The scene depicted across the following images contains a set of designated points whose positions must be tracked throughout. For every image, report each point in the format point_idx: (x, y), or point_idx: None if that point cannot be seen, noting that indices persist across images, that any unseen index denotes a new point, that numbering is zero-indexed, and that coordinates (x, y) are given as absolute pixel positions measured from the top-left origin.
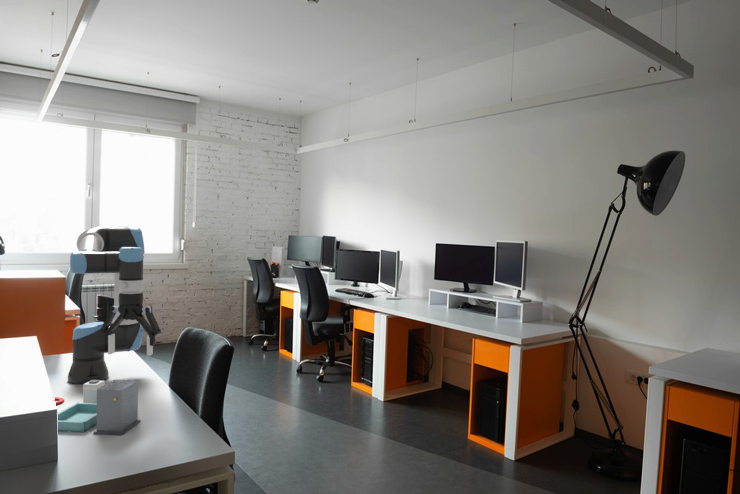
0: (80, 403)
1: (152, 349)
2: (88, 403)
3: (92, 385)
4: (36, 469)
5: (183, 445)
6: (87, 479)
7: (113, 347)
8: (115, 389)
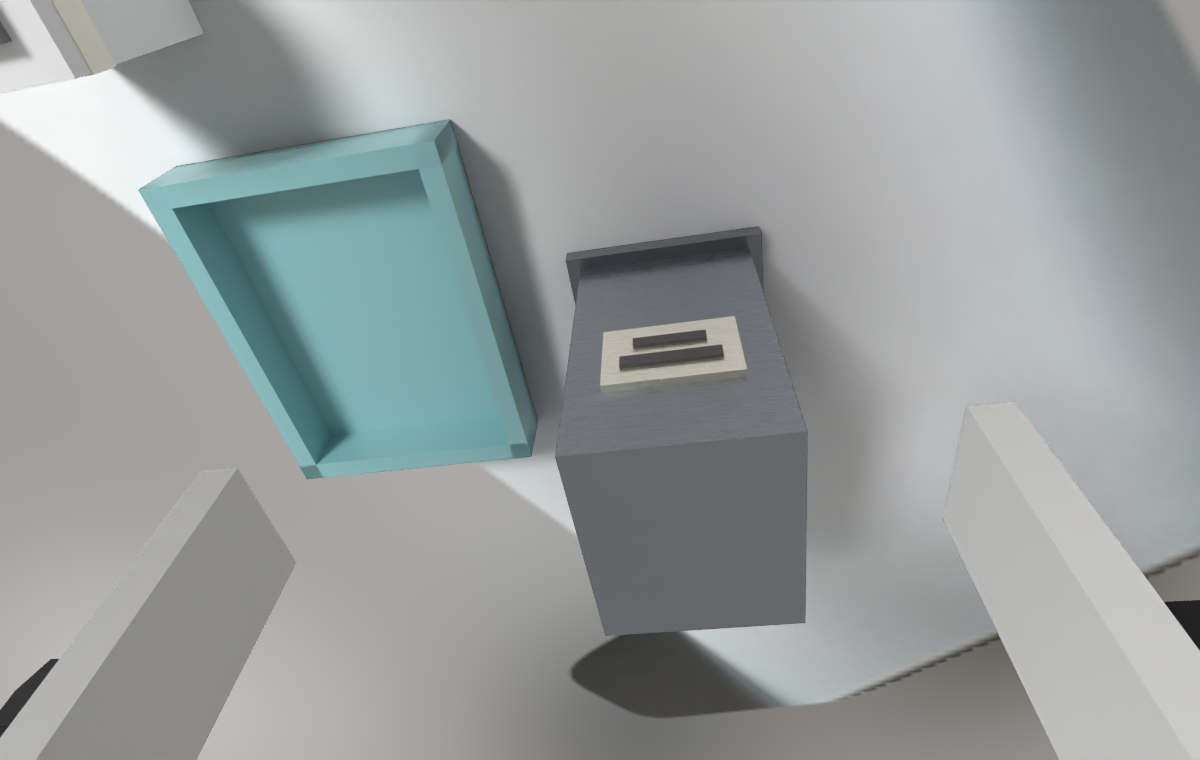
0: (181, 199)
1: (1061, 482)
2: (234, 182)
3: (36, 83)
4: (638, 657)
5: (1155, 438)
6: (851, 672)
7: (203, 580)
8: (746, 619)
